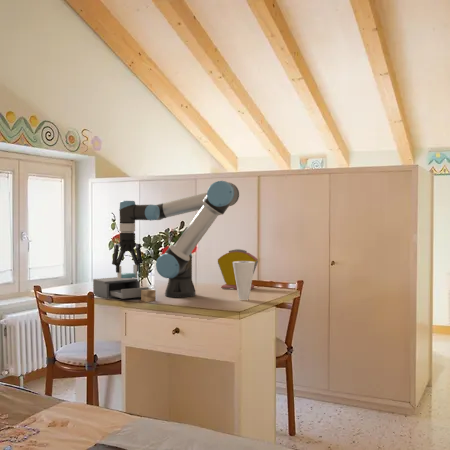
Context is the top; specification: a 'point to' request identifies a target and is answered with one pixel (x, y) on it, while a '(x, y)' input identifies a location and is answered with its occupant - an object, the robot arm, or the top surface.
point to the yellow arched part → (227, 265)
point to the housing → (113, 285)
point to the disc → (128, 275)
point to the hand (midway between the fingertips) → (127, 278)
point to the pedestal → (148, 295)
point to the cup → (243, 277)
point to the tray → (127, 292)
